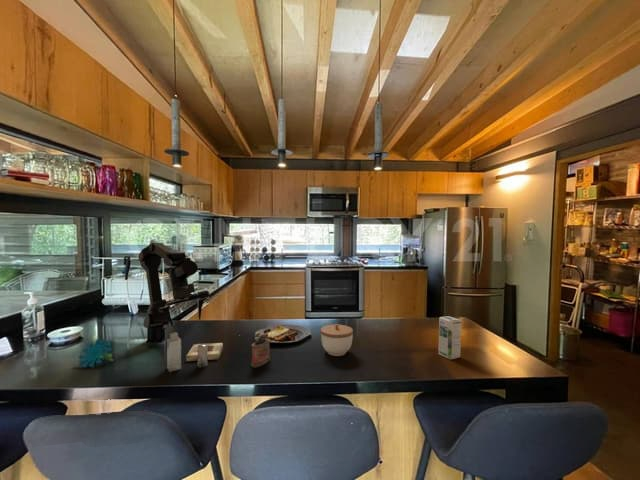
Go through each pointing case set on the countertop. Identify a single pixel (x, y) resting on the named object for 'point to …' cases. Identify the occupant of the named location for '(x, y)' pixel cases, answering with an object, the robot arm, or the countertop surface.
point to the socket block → (212, 354)
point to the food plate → (283, 333)
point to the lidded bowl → (336, 339)
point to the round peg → (202, 355)
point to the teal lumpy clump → (95, 354)
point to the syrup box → (449, 337)
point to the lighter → (260, 350)
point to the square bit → (173, 352)
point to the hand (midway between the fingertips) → (186, 323)
